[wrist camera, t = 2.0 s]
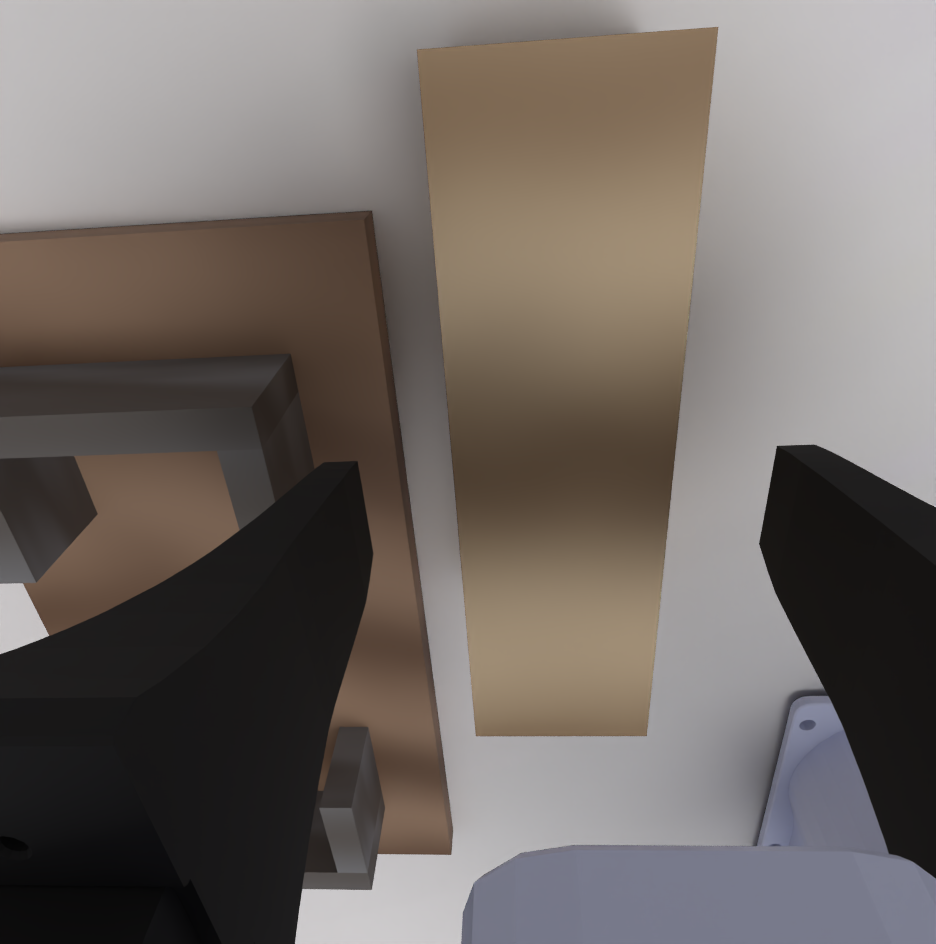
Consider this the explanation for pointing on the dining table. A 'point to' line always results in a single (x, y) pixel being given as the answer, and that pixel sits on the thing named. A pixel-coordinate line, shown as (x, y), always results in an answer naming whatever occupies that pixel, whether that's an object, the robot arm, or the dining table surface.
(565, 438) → the rail
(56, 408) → the bracket board
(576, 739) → the dining table surface
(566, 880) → the robot arm
